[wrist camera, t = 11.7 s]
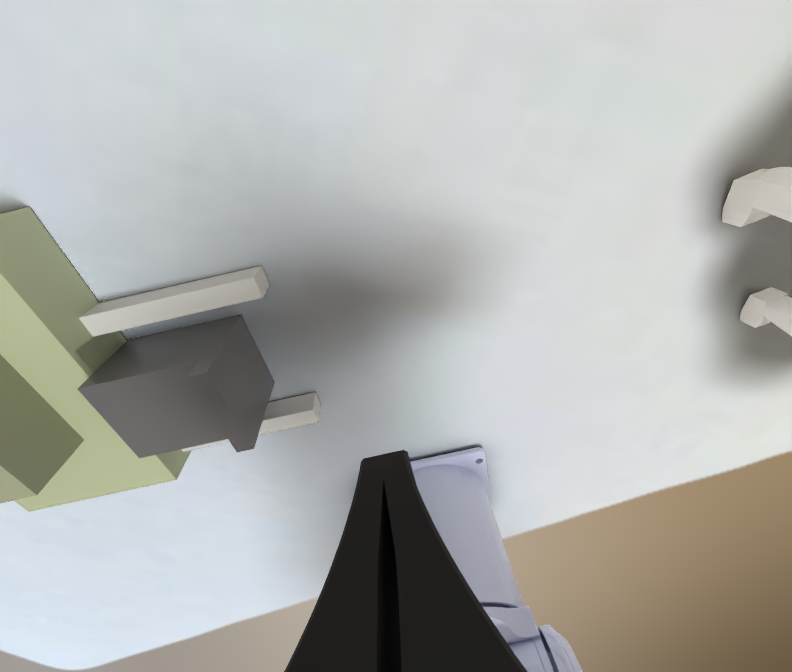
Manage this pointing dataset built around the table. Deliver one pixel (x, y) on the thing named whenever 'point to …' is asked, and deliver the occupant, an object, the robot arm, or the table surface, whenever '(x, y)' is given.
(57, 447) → the green post base
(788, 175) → the cat figurine
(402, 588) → the robot arm
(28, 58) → the table surface
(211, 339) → the grey overhanging lid block
